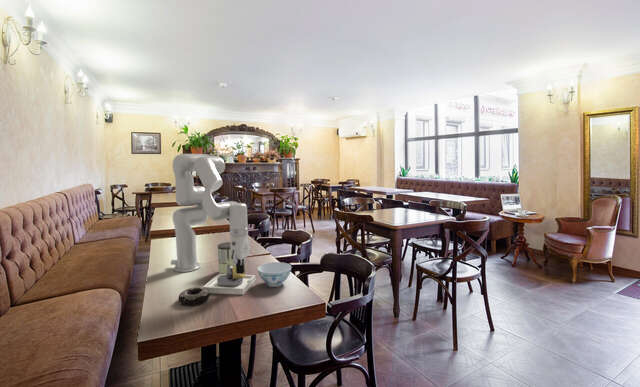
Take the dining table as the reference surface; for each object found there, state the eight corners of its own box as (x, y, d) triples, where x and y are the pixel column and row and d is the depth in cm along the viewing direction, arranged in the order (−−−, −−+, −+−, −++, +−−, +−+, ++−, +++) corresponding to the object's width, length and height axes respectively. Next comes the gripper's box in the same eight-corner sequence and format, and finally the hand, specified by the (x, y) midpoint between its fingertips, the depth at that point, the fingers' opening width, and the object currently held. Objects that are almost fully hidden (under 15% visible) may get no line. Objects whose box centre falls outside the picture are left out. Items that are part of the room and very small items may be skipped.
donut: (187, 294, 137) (187, 285, 137) (214, 295, 136) (214, 286, 136) (172, 306, 126) (172, 296, 125) (201, 307, 124) (201, 297, 124)
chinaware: (254, 280, 151) (254, 264, 151) (285, 276, 157) (285, 260, 157) (262, 292, 138) (261, 275, 137) (296, 287, 144) (295, 270, 143)
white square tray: (202, 292, 138) (202, 286, 138) (218, 279, 154) (218, 273, 154) (243, 294, 136) (243, 287, 136) (255, 280, 152) (255, 274, 151)
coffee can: (226, 267, 170) (225, 241, 169) (243, 269, 167) (242, 242, 165) (214, 274, 161) (213, 246, 159) (232, 276, 157) (231, 248, 156)
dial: (216, 288, 138) (215, 272, 138) (218, 279, 149) (217, 264, 148) (244, 285, 141) (244, 270, 140) (245, 276, 151) (244, 262, 151)
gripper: (238, 236, 133) (240, 279, 135) (254, 228, 147) (255, 268, 149) (222, 235, 134) (223, 278, 136) (239, 228, 149) (240, 267, 151)
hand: (240, 272), depth 143 cm, fingers closed
